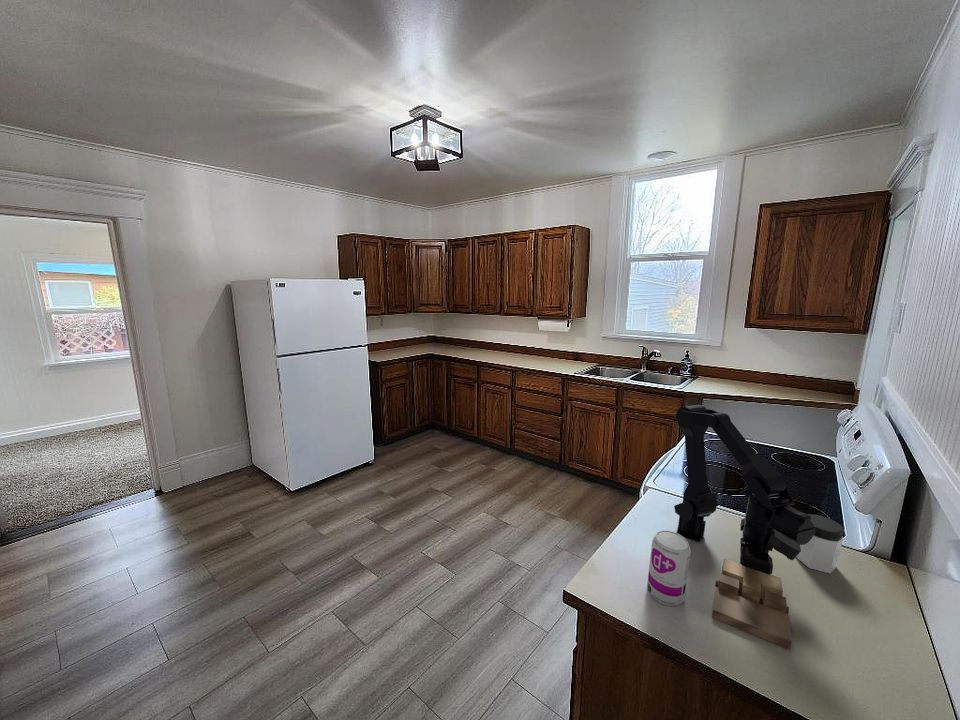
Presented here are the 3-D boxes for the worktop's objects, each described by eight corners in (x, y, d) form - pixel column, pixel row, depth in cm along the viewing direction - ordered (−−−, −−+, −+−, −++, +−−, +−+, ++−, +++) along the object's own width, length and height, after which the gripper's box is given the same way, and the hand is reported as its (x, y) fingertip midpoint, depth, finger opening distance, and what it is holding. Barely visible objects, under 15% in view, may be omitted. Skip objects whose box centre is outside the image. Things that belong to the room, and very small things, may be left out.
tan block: (720, 591, 96) (722, 577, 95) (721, 571, 102) (723, 558, 101) (781, 614, 89) (784, 599, 88) (778, 592, 96) (781, 578, 95)
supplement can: (668, 613, 89) (676, 556, 86) (639, 588, 96) (645, 534, 93) (691, 600, 93) (699, 545, 90) (661, 577, 100) (668, 525, 97)
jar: (828, 578, 101) (837, 537, 98) (790, 559, 107) (798, 520, 105) (840, 564, 105) (849, 525, 103) (803, 547, 112) (810, 510, 110)
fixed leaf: (711, 616, 88) (713, 601, 88) (714, 586, 97) (717, 572, 97) (790, 650, 81) (793, 633, 80) (786, 613, 90) (789, 598, 89)
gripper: (806, 552, 85) (793, 612, 88) (796, 511, 100) (786, 563, 103) (745, 534, 91) (735, 591, 94) (744, 497, 106) (736, 547, 109)
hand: (750, 572), depth 100 cm, fingers closed
